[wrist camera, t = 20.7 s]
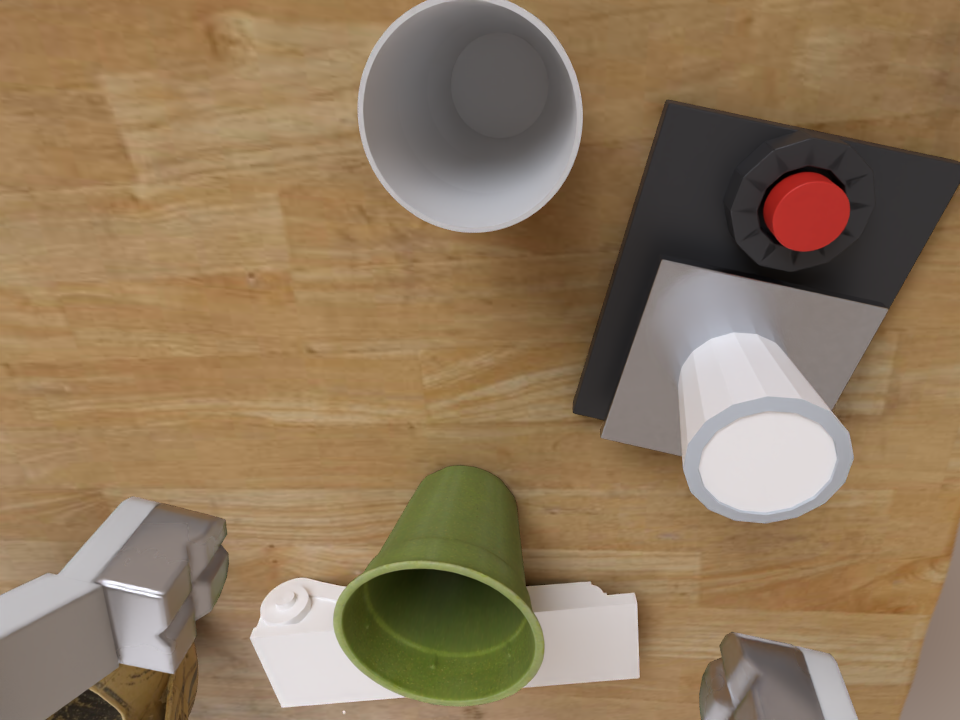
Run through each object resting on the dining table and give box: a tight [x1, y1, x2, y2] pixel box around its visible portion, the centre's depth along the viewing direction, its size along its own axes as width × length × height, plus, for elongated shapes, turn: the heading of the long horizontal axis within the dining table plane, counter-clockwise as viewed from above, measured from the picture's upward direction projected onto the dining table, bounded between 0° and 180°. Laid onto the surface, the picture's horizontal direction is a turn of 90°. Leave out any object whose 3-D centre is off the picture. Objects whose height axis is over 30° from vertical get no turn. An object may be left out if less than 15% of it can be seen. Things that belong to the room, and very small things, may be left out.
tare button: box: [763, 172, 850, 252], centre depth 29 cm, size 3×3×2 cm
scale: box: [573, 100, 960, 420], centre depth 34 cm, size 18×14×3 cm
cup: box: [358, 0, 583, 233], centre depth 27 cm, size 8×8×10 cm
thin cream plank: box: [250, 578, 640, 708], centre depth 51 cm, size 10×7×28 cm
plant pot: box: [333, 465, 545, 706], centre depth 41 cm, size 12×12×11 cm
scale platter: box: [600, 254, 888, 456], centre depth 34 cm, size 11×11×1 cm
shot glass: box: [678, 332, 854, 523], centre depth 31 cm, size 7×7×7 cm
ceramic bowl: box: [46, 642, 198, 720], centre depth 50 cm, size 22×17×15 cm
